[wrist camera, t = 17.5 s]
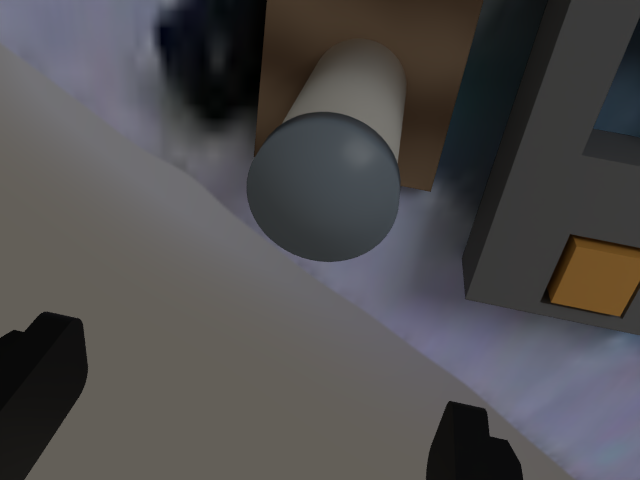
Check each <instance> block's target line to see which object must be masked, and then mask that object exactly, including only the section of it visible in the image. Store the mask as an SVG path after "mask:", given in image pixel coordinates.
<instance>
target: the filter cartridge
mask: <svg viewBox="0 0 640 480" xmlns="http://www.w3.org/2000/svg"><path fill="white" fill-rule="evenodd" d="M406 86H407V83H406V76H405V72H404V69H403V67H402V65H401V63H400V61H399V60H398V58H397V57H396V56H395V55H394V54H393V53H392V52H391V51H390V50H389V49H388V48H387V47H385V46H383V45H382V44H380V43H378V42H375V41H372V40H368V39H349V40H345V41H342V42H340V43H338V44H336V45H334V46H333V47H331V48H330V49H329V50H327V51H326V52H325V53H324V55H323V56H322V57H321V58H320V60H319V61H318V63H317V65H316V66H315V68H314V70H313V72H312V73H311V75H310V77H309V78H308V80H307V82H306V83H305V85H304V87H303V89H302V90H301V92H300V94H299V95H298V97H297V99H296V100H295V102H294V104H293V106H292V107H291V109H290V111H289V112H288V114H287V116H286V117H285V119H284V121H283V122H282V124H281V125H280V126H278V127H277V128H276V129H275V130H274V131H273V132H272V133H271V134H270V135H269V136H268V138H267V139H266V140H265V142H264V143H263V145H262V147H261V148H260V150H259V151H258V153H257V155H256V156H255V158H254V160H253V162H252V164H251V167H250V170H249V173H248V178H247V197H248V202H249V206H250V209H251V212H252V214H253V216H254V218H255V220H256V222H257V223H258V225H259V226H260V228H261V229H262V230H263V232H264V233H265V234H266V235H267V236H268V237H269V238H270V239H271V240H272V241H274V242H275V243H276V244H277V245H279V246H280V247H282V248H283V249H285V250H286V251H288V252H290V253H292V254H294V255H297V256H300V257H302V258H306V259H310V260H315V261H323V262H335V261H343V260H348V259H352V258H355V257H358V256H360V255H362V254H365V253H366V252H368V251H370V250H371V249H373V248H374V247H375V246H377V245H378V244H379V243H380V242H381V241H382V240H383V239H384V238H385V237H386V235H387V234H388V233H389V231H390V230H391V228H392V226H393V224H394V222H395V219H396V216H397V212H398V206H399V197H400V184H401V179H400V171H399V167H398V156H399V148H400V139H401V131H402V123H403V114H404V106H405V98H406Z"/></svg>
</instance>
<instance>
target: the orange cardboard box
mask: <svg viewBox="0 0 640 480" xmlns="http://www.w3.org/2000/svg"><path fill="white" fill-rule="evenodd" d="M639 281H640V248H638V247H633V246H628V245H623V244H618V243H613V242H608V241H603V240H598V239H593V238H587V237H582V236H577V235H572V234H570V236H569V238H568V240H567V242H566V245H565V247H564V249H563V251H562V254H561V256H560V258H559V260H558V263H557V265H556V267H555V269H554V272H553V274H552V276H551V278H550V280H549V283H548V285H547V290H548V293H549V297H550V300H551V303H556V304H561V305H566V306H571V307H576V308H581V309H586V310H590V311H595V312H600V313H605V314H610V315H615V316H621V314H622V312H623V310H624V308H625V307H626V305H627V303H628V301H629V299H630V298H631V296H632V294H633V292H634V290H635V288H636V287H637V285H638V283H639Z"/></svg>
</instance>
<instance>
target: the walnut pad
mask: <svg viewBox="0 0 640 480" xmlns="http://www.w3.org/2000/svg"><path fill="white" fill-rule="evenodd" d="M482 4H483V0H267V7H266V19H265V31H264V43H263V55H262V67H261V79H260V91H259V103H258V115H257V127H256V139H255V151H254V157H255V156H256V155H257V153H258V151H259V150H260V148H261V147H262V145H263V143H264V142H265V140H266V139H267V138H268V136H269V135H270V134H271V133H272V132H273V131H274V130H275V129H276V128H277V127H278V126H280V125H281V124H282V122H283V121H284V119H285V117H286V116H287V114H288V112H289V111H290V109H291V107H292V106H293V104H294V102H295V100H296V99H297V97H298V95H299V94H300V92H301V90H302V89H303V87H304V85H305V83H306V82H307V80H308V78H309V77H310V75H311V73H312V72H313V70H314V68H315V66H316V65H317V63H318V61H319V60H320V58H321V57H322V56H323V55H324V53H325V52H326V51H327V50H329V49H330V48H331V47H333V46H334V45H336V44H338V43H340V42H342V41H345V40H349V39H368V40H372V41H375V42H378V43H380V44H382V45H383V46H385V47H387V48H388V49H389V50H390V51H391V52H392V53H393V54H394V55H395V56H396V57H397V58H398V60H399V61H400V63H401V65H402V67H403V69H404V72H405V76H406V83H407V86H406V98H405V106H404V114H403V123H402V131H401V139H400V148H399V156H398V167H399V171H400V179H401V184H400V186H405V187H410V188H415V189H420V190H425V191H430V192H431V189H432V185H433V182H434V178H435V174H436V171H437V167H438V164H439V160H440V156H441V153H442V149H443V145H444V142H445V138H446V135H447V131H448V127H449V124H450V120H451V116H452V113H453V109H454V106H455V102H456V98H457V95H458V91H459V87H460V84H461V80H462V77H463V73H464V69H465V66H466V62H467V59H468V55H469V51H470V48H471V44H472V40H473V37H474V33H475V30H476V26H477V22H478V19H479V15H480V11H481V8H482Z"/></svg>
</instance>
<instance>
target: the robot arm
mask: <svg viewBox="0 0 640 480" xmlns="http://www.w3.org/2000/svg"><path fill="white" fill-rule="evenodd" d="M87 373H88V364H87V356H86V346H85V338H84V329H83V323H82V321H81V320H80V319H78V318H74V317H69V316H64V315H60V314H56V313H50V312H43V313H41V314H40V315H39V316H38V317H37V318H36V319H35V320H34V321H33V323H32V324H31V325H30V326H29V327H28V328H27V329H26V330H25V332H21V331H17V330H13V331H11V332H9V333H8V334H6V335H4V336H3V337H1V338H0V480H24V479H25V478H26V476H27V475H28V473H29V472H30V470H31V469H32V467H33V466H34V464H35V463H36V461H37V460H38V458H39V457H40V455H41V454H42V452H43V451H44V449H45V448H46V446H47V445H48V443H49V442H50V440H51V439H52V437H53V436H54V434H55V433H56V431H57V429H58V428H59V426H60V425H61V423H62V422H63V420H64V419H65V417H66V416H67V414H68V413H69V411H70V410H71V408H72V407H73V405H74V404H75V402H76V400H77V399H78V398H79V396H80V394H81V393H82V390H83V388H84V385H85V383H86V378H87ZM426 480H523V475H522V469H521V464H520V462H519V460H518V458H517V456H516V455H515V453H514V451H513V449H512V448H511V446H510V444H509V442H508V441H507V440H504V439H499V438H495V437H490V435H489V425H488V416H487V412H486V410H485V409H484V408H480V407H475V406H471V405H466V404H461V403H457V402H452V401H449V402H448V404H447V406H446V409H445V411H444V413H443V416H442V419H441V421H440V424H439V426H438V429H437V432H436V435H435V437H434V440H433V442H432V445H431V448H430V452H429V457H428V462H427V472H426Z"/></svg>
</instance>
